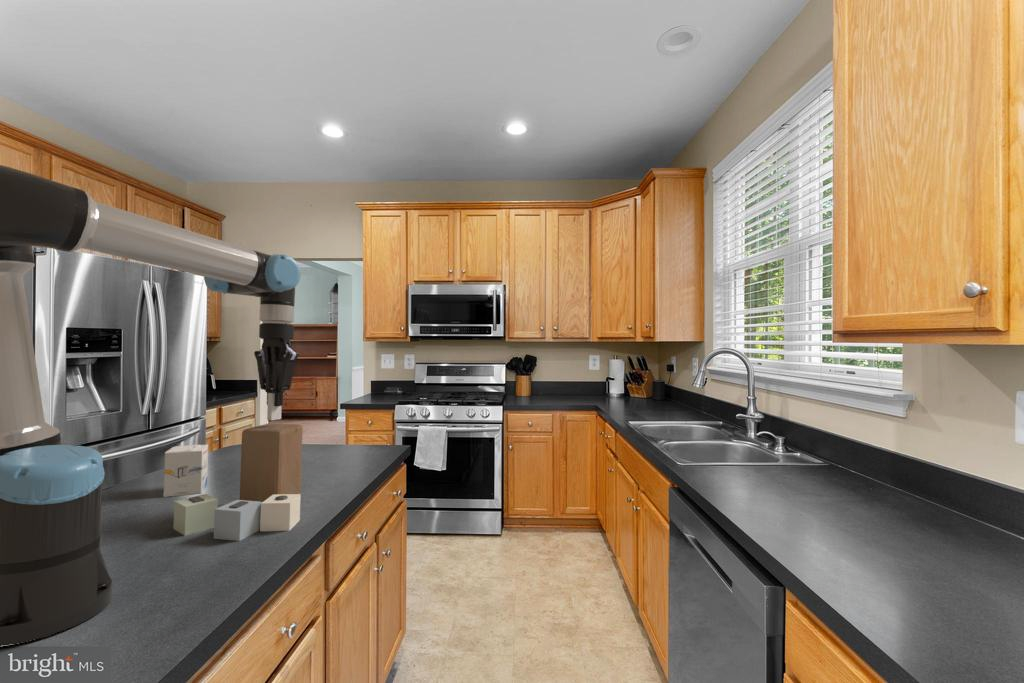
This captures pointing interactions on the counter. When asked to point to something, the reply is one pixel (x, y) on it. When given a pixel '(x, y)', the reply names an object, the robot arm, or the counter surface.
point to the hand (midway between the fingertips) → (274, 419)
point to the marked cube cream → (280, 512)
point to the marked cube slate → (237, 520)
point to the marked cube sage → (194, 514)
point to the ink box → (185, 470)
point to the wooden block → (270, 461)
